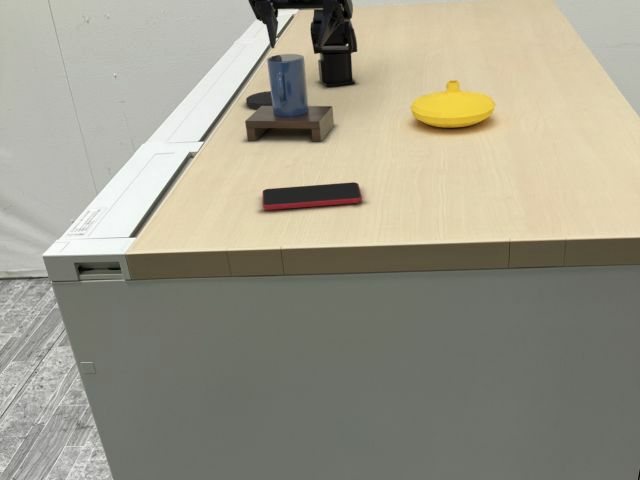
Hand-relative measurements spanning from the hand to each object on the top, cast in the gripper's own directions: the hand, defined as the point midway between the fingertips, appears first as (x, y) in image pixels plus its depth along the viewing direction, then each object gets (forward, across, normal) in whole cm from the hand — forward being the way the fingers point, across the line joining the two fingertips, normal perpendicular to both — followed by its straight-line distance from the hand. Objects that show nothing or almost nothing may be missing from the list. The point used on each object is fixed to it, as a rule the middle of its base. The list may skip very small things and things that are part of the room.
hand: (295, 46), depth 152 cm
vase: (+10, +29, +9) cm, 32 cm away
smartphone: (+39, +13, -21) cm, 46 cm away
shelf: (+15, 0, +3) cm, 15 cm away
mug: (+12, 0, +2) cm, 12 cm away
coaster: (0, -10, +18) cm, 21 cm away
